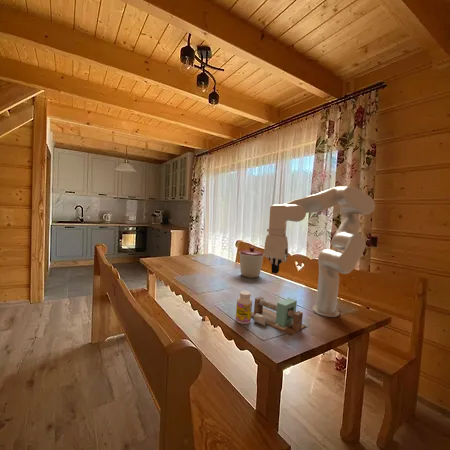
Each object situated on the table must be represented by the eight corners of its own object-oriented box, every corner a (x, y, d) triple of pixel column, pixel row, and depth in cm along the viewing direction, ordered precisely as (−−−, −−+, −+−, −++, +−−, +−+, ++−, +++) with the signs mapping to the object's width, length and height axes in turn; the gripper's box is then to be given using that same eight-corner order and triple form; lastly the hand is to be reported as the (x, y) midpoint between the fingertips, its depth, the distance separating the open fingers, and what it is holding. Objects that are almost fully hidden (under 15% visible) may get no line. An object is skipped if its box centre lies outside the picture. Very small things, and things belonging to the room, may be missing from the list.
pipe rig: (263, 308, 128) (264, 293, 128) (305, 326, 112) (307, 309, 112) (247, 315, 120) (248, 299, 119) (291, 335, 104) (293, 317, 103)
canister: (256, 272, 197) (258, 244, 195) (267, 279, 180) (269, 249, 178) (233, 272, 191) (235, 244, 190) (243, 280, 174) (245, 249, 173)
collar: (287, 317, 117) (288, 297, 116) (294, 320, 114) (296, 300, 113) (275, 322, 111) (277, 302, 110) (283, 326, 108) (285, 305, 107)
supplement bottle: (233, 322, 112) (235, 293, 111) (238, 316, 118) (240, 289, 117) (248, 325, 110) (250, 296, 108) (252, 319, 116) (254, 291, 115)
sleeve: (255, 323, 115) (259, 316, 116) (264, 327, 111) (268, 320, 113) (252, 318, 113) (256, 311, 114) (261, 322, 109) (266, 315, 111)
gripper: (258, 231, 117) (256, 270, 119) (287, 235, 107) (284, 278, 109) (268, 230, 123) (266, 268, 124) (296, 233, 112) (294, 275, 114)
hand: (275, 272), depth 116 cm, fingers closed
